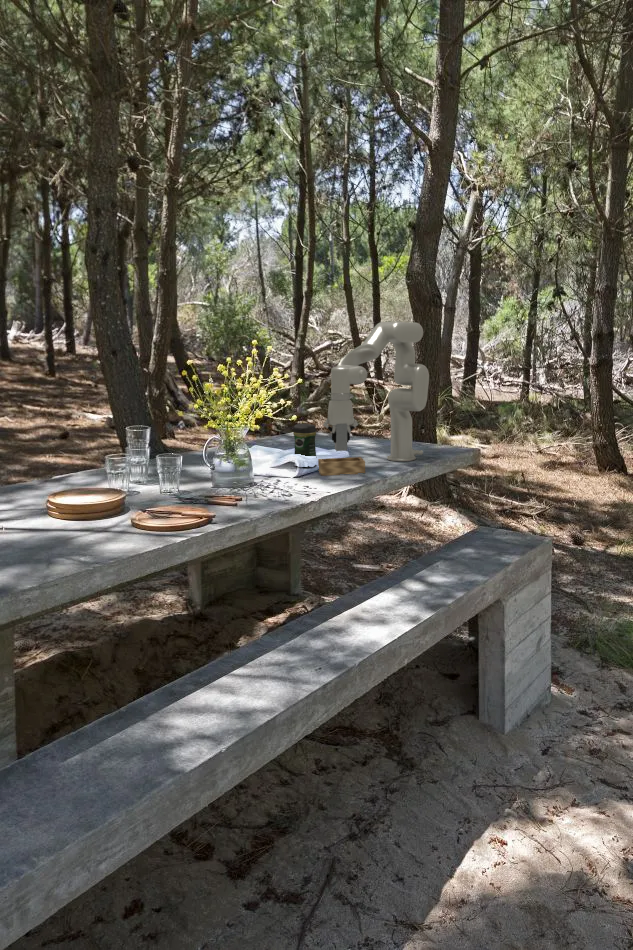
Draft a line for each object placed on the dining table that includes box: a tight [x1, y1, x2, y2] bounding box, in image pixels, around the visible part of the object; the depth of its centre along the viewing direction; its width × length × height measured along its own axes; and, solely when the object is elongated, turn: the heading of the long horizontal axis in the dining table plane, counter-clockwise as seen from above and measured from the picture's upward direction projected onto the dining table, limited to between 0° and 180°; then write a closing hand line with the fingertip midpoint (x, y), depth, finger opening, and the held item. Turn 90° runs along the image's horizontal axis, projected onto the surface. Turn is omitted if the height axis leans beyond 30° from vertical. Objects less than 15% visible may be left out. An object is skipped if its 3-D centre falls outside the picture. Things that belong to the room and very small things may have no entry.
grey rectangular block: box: [334, 424, 348, 452], centre depth 332 cm, size 4×4×11 cm
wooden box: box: [317, 456, 366, 477], centre depth 334 cm, size 18×10×5 cm, turn 97°
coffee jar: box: [292, 423, 317, 457], centre depth 348 cm, size 10×8×19 cm
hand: (340, 441), depth 332 cm, fingers closed on grey rectangular block, 4 cm apart
